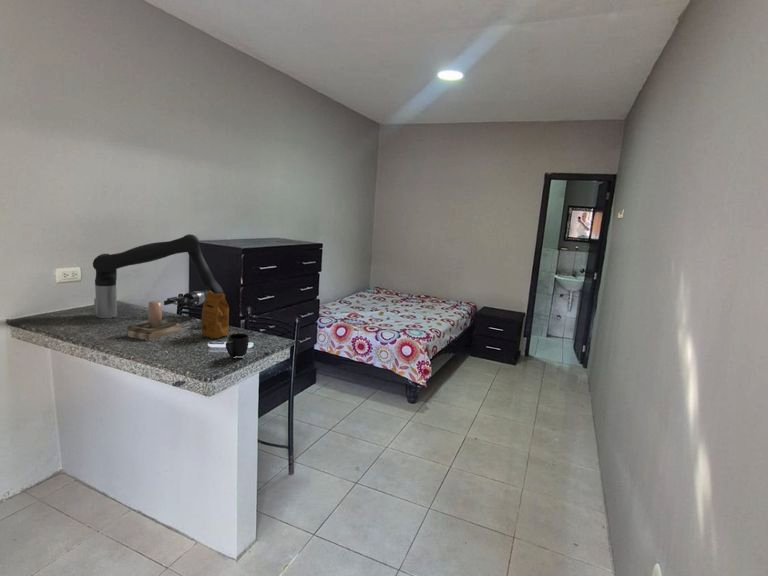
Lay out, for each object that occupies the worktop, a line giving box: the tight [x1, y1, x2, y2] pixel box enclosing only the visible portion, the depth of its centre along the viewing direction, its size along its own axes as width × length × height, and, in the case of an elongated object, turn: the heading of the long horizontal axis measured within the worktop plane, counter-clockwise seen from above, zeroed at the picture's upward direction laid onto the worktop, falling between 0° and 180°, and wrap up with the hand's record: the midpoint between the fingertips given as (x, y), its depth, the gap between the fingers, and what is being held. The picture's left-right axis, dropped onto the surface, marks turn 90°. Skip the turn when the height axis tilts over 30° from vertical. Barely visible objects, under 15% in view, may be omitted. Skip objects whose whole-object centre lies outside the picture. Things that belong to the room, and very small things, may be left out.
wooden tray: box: [126, 320, 182, 341], centre depth 201 cm, size 12×20×5 cm, turn 165°
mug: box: [225, 332, 250, 359], centre depth 177 cm, size 8×12×10 cm
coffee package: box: [200, 291, 230, 340], centre depth 204 cm, size 10×12×22 cm
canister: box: [148, 300, 163, 328], centre depth 200 cm, size 6×6×12 cm
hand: (171, 304), depth 209 cm, fingers open, 8 cm apart
